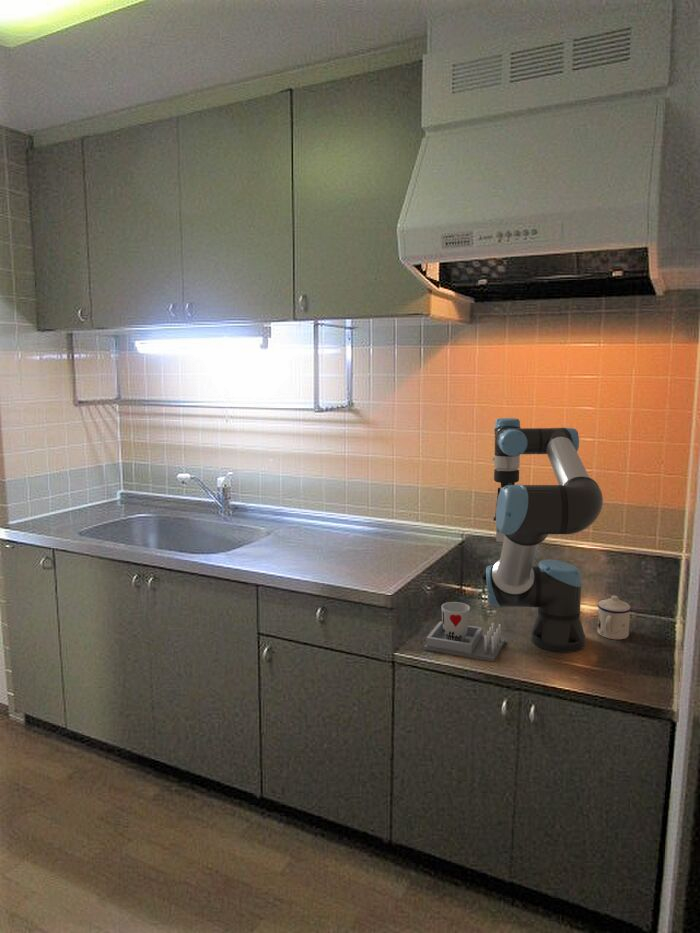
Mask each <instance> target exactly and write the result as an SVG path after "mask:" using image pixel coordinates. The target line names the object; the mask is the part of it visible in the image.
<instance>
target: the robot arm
mask: <svg viewBox="0 0 700 933" xmlns="http://www.w3.org/2000/svg"><path fill="white" fill-rule="evenodd" d="M579 447H580V436H579V431H578V430H577V429H576V428H573V427H572V428H571V427H549V428H548V427H544V428H543V427H541V428H540V427H539V428H538V427H537V428H534V427H533V428H532V427H530V428H529V427H528V428H526V427H525V428H524V427H523V428H521V421H520V419H519V418H514V417H513V418H512V417H511V418H510V417H505V418H503V417H502V418H501V417H499V418H497V419H496V420H495V422H494V456H493V457H492V460H493V461H494V462H493V464H494V468H495V469H494V471H493V473H494V474H493V481H495V483H500V487H498V488H497V496H496V503H495V504H496V505H495V514H494V517H493V521H495V524H496V525H495V526H496V527H495V531H496V532H495V533H496V534H495V542H497V543H498V542H499V543H502V547H501V553H500V558H499V559H498V560H497V561H496V562H495V563H494V564H492V565H487V566H486V567H485V578H486V589H487V591H486V592H487V601H488V604H489V605H490V606H492V607H499V608H504V607H506V608H509V607H510V608H537V615H536V617H535V619H534V623H533V625H532V627H531V630H530V640H531V642H532V644H534V645H535V646H537V647H539V648H541V649H542V650H543V649H544V650H547V651H550V652H551V651H552V652H557V653H570V652H571V653H573V652H577V651H580V650H582V649H584V648H585V646H586V643H587V642H586V640H587V639H586V637H587V636H586V633H585V631H584V627H583V624H582V620H581V600H582V596H581V594H582V586H583V583H582V572H581V571H580V569H579V568H578V567H577V566H575V565H573V564H571V563H569V562H566V561H562V560H557V559H542V560H540V561H539V563H538V565H537V566H535V565H534V561H535V558H536V554H537V550H538V547H539V545H540V544H541V543H543V542H544V541H545V540H546V538H547V537H548V535H574V534H578V533H580V532H582V531H584V530H586V529H587V528H589V527H590V526H591V525H592V524H594V523H595V522H596V520H597V519H598V517H599V515H600V513H601V512H602V509H603V504H604V499H603V497H604V496H603V493H602V490H601V488H600V486H599V484H598V483H597V482H596V480H595V479H593V478H591V477H590V476H589V474H588V471H587V470H586V468H585V466H584V463H583V462H582V460H581V458H580V455H579V453H578V451H579ZM521 455H547V457H548V459H549V462H550V465H551V468H552V471H553V473H554V476H555V478H556V481H557V483H558V484H523V483H519V481H520V470H519V468H520V466H521V463H520V458H521ZM533 565H534V566H533Z"/></svg>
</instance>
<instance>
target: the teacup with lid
mask: <svg viewBox="0 0 700 933" xmlns="http://www.w3.org/2000/svg"><path fill="white" fill-rule="evenodd" d="M597 608H598V610H597V611H598V614H597V634H598V635H600V636H601V637H603V638H606V639H611V640H623V639H624V640H625V639H627V638H628V637H629V635H630V621H631V620H630V616H631V615H630V614H631V610H632V608H631V605H630V604H629V603H628V602H626V601H623V600H622V599H619V597H618V596H617V595H611V596H610V598H607V599H602V600H599V602H598V603H597Z"/></svg>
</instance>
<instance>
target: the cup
mask: <svg viewBox="0 0 700 933" xmlns="http://www.w3.org/2000/svg"><path fill="white" fill-rule="evenodd" d="M470 611H471V607H470V605H468V604H467V603H464V602H460V601H459V602H458V601H449V602H445V603H443V604H442V605H441V621H442V622H443V628H444V633H445V636H446V639H447V640H453V641H459V642H464V640H465V637H466V634H467V629H468V625H469V623H470V614H471V613H470Z"/></svg>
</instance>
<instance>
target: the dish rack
mask: <svg viewBox="0 0 700 933" xmlns="http://www.w3.org/2000/svg"><path fill="white" fill-rule="evenodd" d="M488 629H489V630H487V631H486V635H485V634H483V633H484V632H483V627H481V626H473V625H469V624H468V629H467V634H466V637H465V640H464V642H459V641H453V640H447V639H446V636H445V633H444V628H443V622H442V620H441V621H439V622H438V623H437V624H436V625H435V626H434V628H433V629H432V630H431V631H430V632H429V634H428V635H426V636H427V637H426V638H425V639H426V642H425V645H424V646H423V650H425V651H428V652H434V651H435V653H441V654H446V655H453V656H458V657H464V658H471V659H476V660H483V661H485V662H487V661H488V662H496V660H497V658H498V656H499V654H500V652H501V650H502V649H503V646H504V644H505V643H506V638H505V637H502V624H498V628H495V623H494V622H492V623H491V626H490V627H489V628H488ZM495 630H496V632H495Z"/></svg>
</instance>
